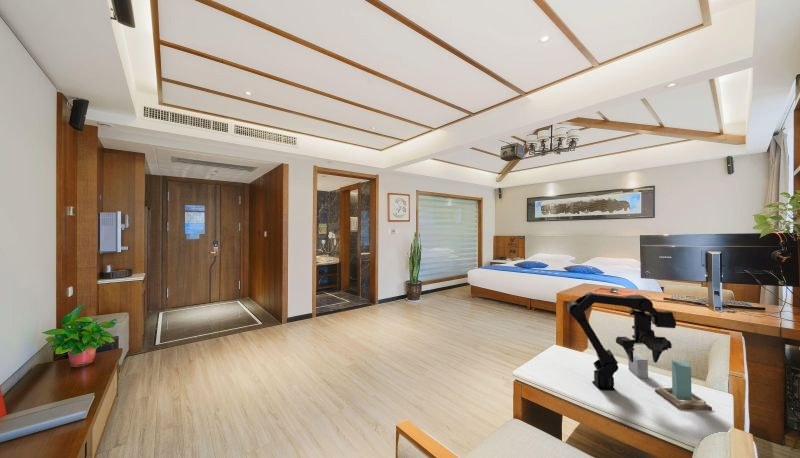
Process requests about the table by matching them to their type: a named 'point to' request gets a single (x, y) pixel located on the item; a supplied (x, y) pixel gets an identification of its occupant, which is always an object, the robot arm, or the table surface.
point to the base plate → (683, 404)
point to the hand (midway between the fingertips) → (643, 362)
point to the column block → (681, 380)
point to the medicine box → (638, 366)
